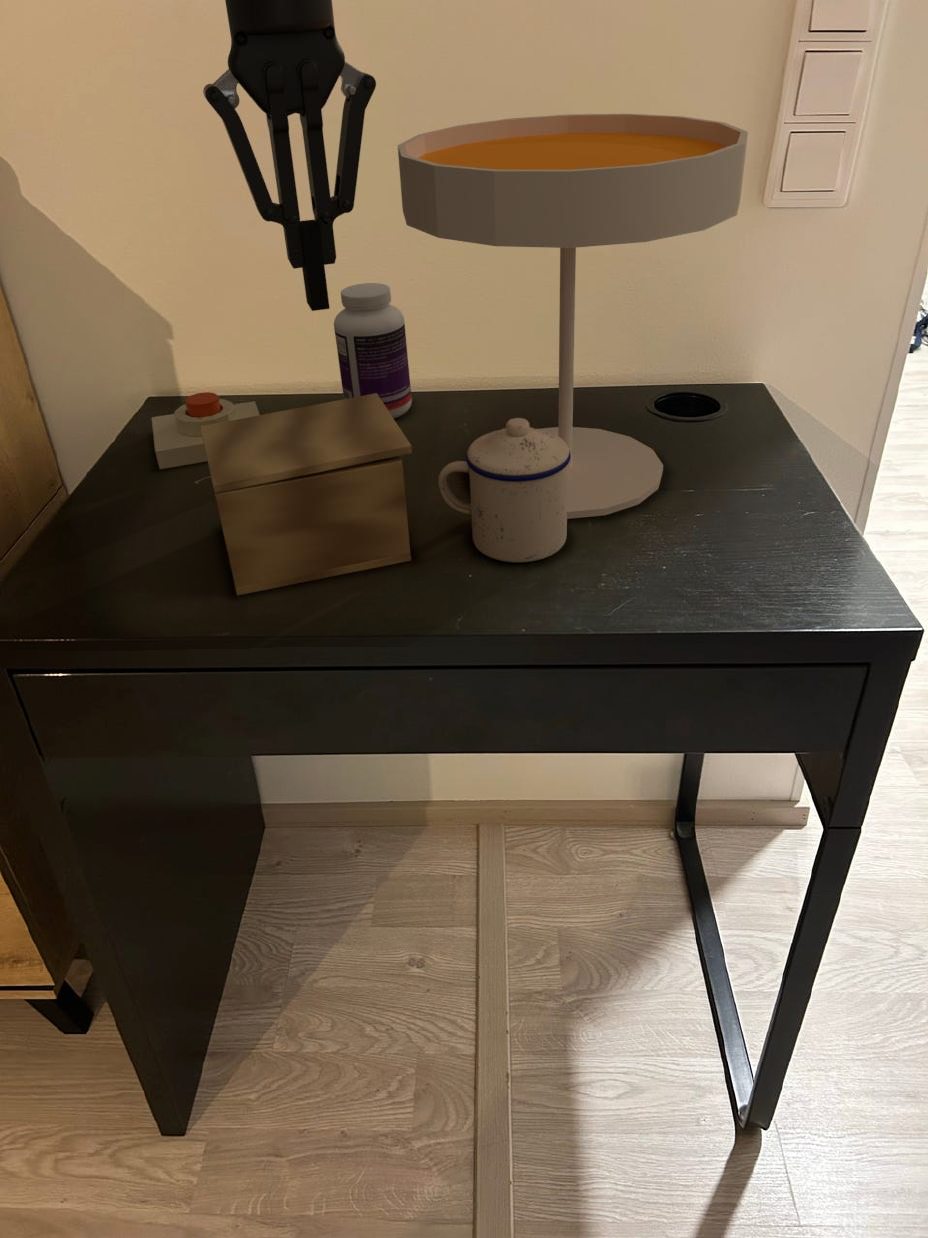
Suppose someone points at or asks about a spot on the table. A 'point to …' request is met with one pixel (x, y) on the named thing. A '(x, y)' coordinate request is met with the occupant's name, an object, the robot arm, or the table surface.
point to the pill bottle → (373, 347)
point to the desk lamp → (577, 228)
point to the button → (203, 404)
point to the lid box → (315, 525)
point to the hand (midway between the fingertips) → (318, 305)
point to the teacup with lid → (514, 492)
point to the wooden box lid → (301, 442)
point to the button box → (191, 433)
